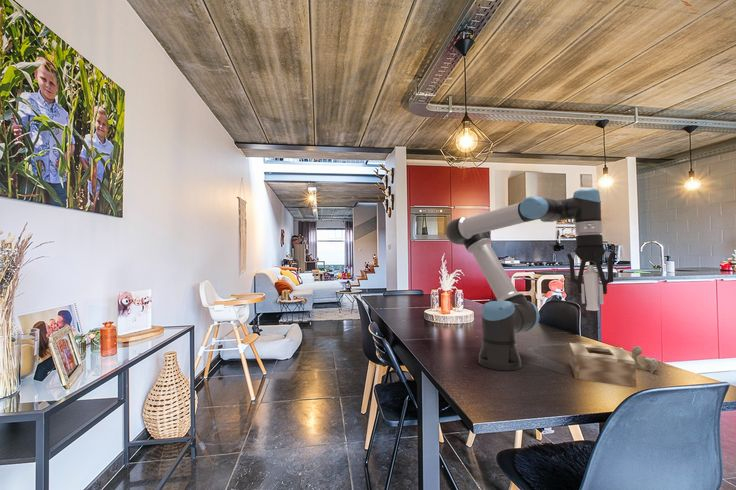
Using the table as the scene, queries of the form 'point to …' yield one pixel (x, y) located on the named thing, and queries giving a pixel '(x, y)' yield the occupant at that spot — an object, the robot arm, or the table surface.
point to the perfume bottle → (591, 288)
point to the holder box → (602, 364)
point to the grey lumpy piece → (651, 362)
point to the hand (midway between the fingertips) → (592, 303)
